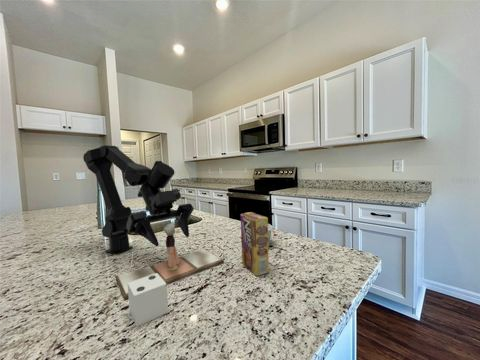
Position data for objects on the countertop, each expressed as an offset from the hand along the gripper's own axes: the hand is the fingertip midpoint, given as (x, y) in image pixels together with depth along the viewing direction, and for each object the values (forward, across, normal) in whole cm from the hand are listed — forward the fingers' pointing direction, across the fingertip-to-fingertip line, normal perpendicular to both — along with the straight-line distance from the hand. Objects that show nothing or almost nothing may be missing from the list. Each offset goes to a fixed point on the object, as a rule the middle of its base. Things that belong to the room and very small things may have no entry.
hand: (173, 240), depth 60 cm
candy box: (+18, +16, -4) cm, 24 cm away
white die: (+14, -12, -1) cm, 19 cm away
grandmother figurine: (+5, 0, +7) cm, 8 cm away
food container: (+9, +31, +4) cm, 33 cm away
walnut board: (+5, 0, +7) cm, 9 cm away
